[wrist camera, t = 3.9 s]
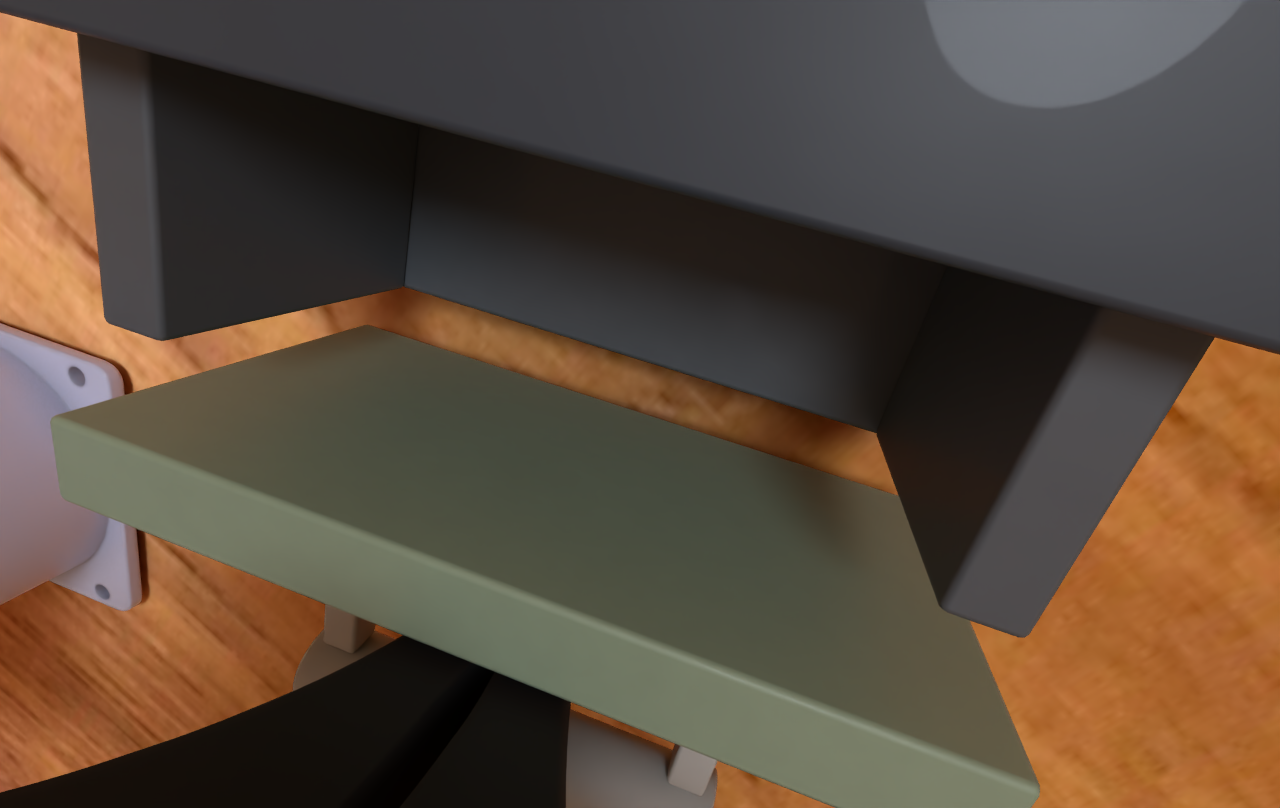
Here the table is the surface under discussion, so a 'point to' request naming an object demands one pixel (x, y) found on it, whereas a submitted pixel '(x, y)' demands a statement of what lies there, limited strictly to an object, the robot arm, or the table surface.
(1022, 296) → the drawer
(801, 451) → the table surface
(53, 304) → the table surface
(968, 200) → the cabinet
